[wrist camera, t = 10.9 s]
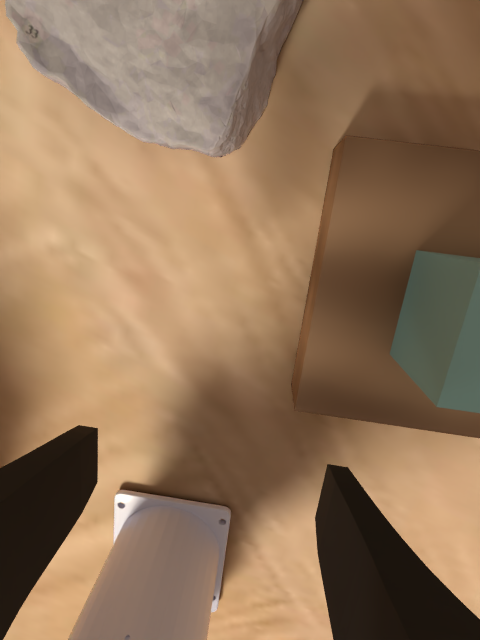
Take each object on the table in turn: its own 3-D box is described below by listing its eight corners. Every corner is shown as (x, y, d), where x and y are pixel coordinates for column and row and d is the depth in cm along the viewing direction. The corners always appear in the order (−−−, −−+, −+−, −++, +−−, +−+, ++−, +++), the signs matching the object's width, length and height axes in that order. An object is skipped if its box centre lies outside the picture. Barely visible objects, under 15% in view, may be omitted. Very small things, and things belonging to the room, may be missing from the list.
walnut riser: (512, 416, 21) (551, 448, 18) (291, 384, 21) (294, 410, 18) (603, 181, 17) (672, 172, 14) (333, 149, 17) (346, 135, 15)
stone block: (245, 176, 20) (330, -52, 15) (226, 183, 16) (335, -130, 11) (55, 90, 20) (82, -165, 15) (-16, 74, 16) (-9, -287, 11)
